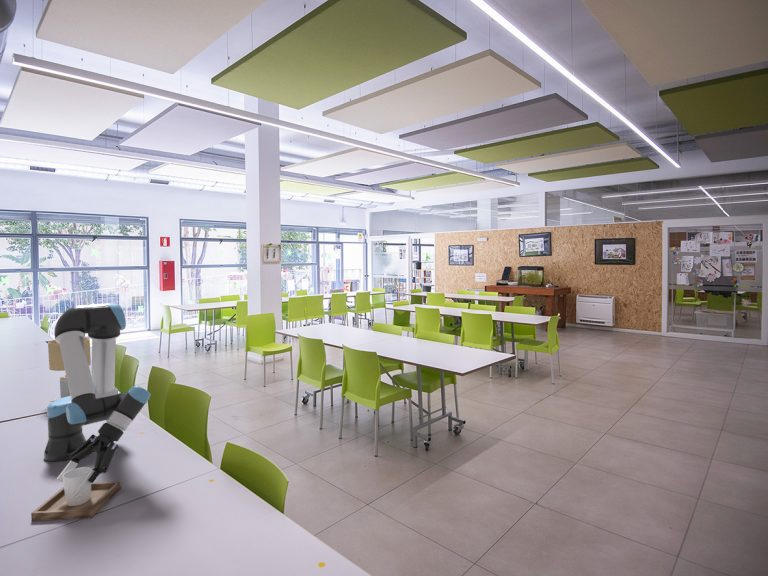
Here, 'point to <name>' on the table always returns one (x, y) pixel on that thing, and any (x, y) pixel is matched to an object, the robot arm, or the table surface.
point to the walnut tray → (60, 510)
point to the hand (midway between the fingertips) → (70, 486)
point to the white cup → (76, 486)
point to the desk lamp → (58, 364)
